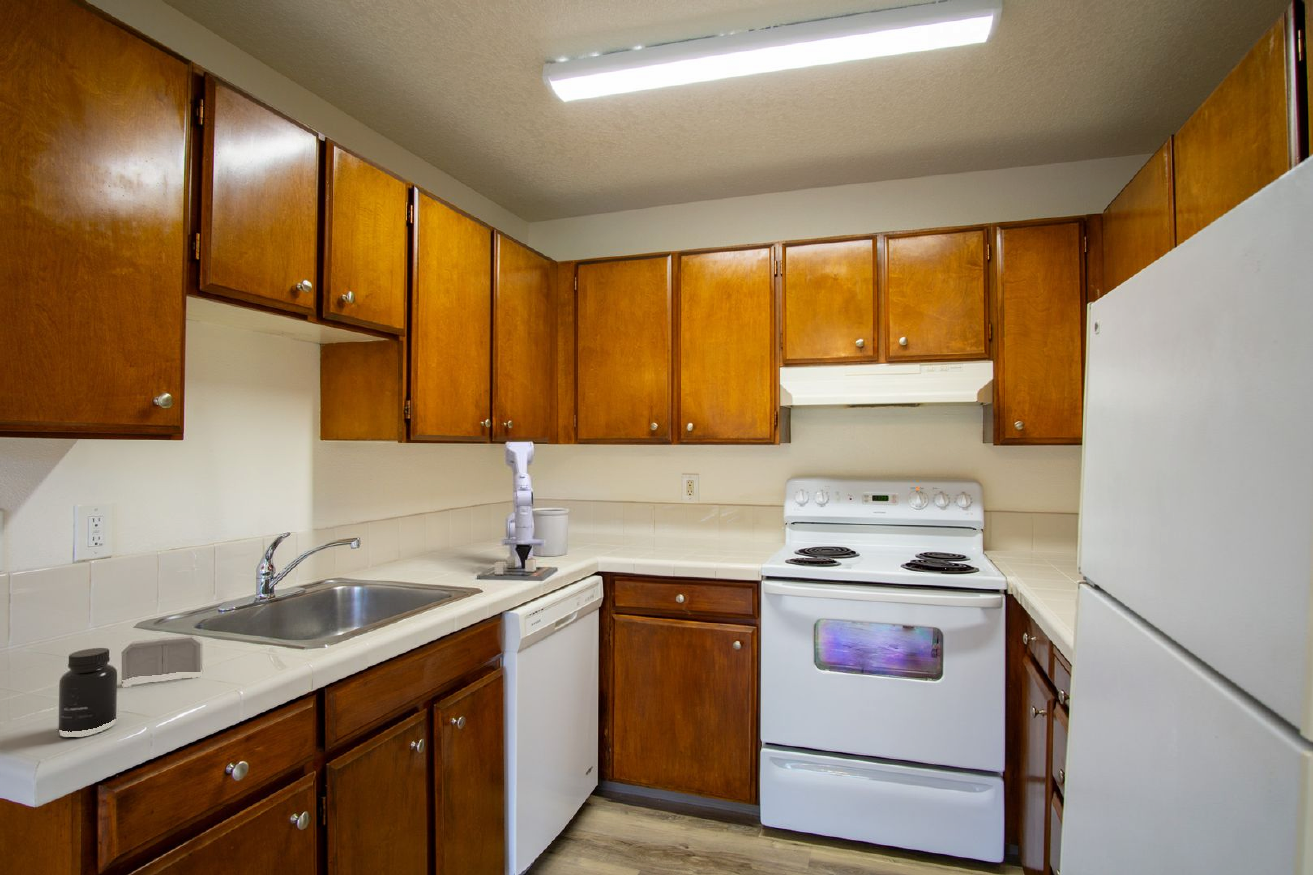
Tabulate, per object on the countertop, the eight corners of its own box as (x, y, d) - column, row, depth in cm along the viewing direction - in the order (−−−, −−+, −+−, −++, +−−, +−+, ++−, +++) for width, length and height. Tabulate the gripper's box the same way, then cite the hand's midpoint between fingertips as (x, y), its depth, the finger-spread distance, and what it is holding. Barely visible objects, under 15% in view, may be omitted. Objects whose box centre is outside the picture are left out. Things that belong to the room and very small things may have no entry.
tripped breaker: (528, 569, 219) (528, 557, 219) (536, 569, 219) (536, 558, 219) (525, 571, 216) (525, 559, 216) (533, 571, 216) (533, 559, 216)
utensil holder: (553, 549, 269) (553, 506, 270) (576, 553, 259) (576, 508, 259) (523, 553, 259) (523, 509, 259) (546, 558, 248) (546, 512, 249)
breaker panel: (496, 569, 228) (496, 554, 228) (557, 570, 224) (557, 555, 224) (476, 579, 212) (476, 563, 212) (542, 580, 209) (542, 564, 209)
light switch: (124, 684, 121) (124, 641, 121) (202, 674, 126) (202, 633, 126) (121, 687, 120) (121, 644, 120) (200, 677, 124) (200, 636, 124)
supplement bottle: (62, 744, 97) (61, 662, 97) (55, 730, 102) (55, 652, 102) (121, 728, 102) (121, 651, 102) (112, 716, 107) (112, 642, 107)
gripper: (498, 527, 215) (498, 569, 215) (541, 528, 213) (541, 570, 213) (506, 525, 222) (506, 565, 222) (547, 525, 220) (547, 566, 220)
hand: (523, 567), depth 218 cm, fingers closed
